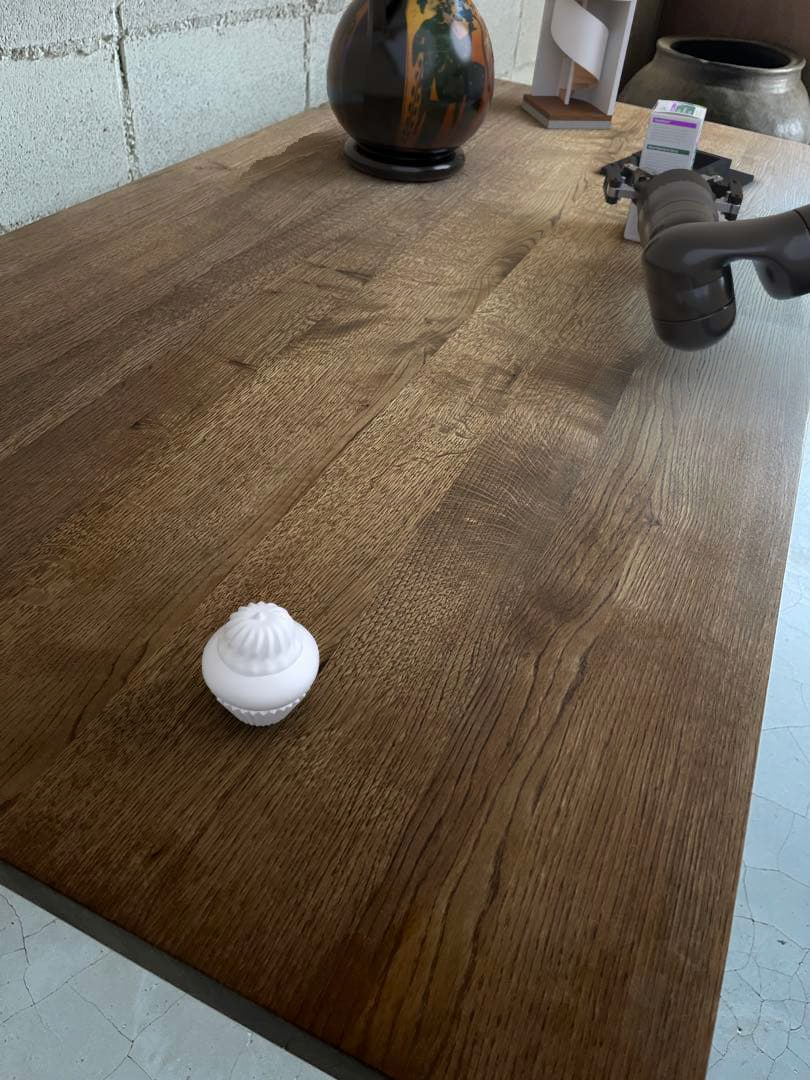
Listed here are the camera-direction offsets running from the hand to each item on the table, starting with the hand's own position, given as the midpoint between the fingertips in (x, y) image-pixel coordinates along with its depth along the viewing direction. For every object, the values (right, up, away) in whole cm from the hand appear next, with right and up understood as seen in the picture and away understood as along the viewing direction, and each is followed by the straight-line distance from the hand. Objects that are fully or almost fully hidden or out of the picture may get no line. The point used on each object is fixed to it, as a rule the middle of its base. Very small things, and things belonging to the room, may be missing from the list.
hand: (668, 170), depth 103 cm
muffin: (-38, -51, -53) cm, 82 cm away
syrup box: (0, -5, +7) cm, 9 cm away
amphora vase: (-30, +9, +21) cm, 37 cm away
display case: (-4, +27, +45) cm, 53 cm away
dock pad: (+9, +10, +26) cm, 29 cm away
